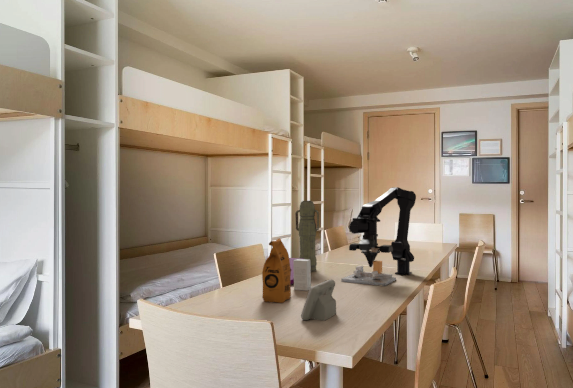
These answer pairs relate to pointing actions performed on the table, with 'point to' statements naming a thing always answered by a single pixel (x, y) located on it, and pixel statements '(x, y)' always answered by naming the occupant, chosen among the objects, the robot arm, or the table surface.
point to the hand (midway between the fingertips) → (370, 267)
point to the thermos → (307, 231)
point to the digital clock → (320, 302)
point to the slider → (377, 268)
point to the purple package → (292, 269)
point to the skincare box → (302, 274)
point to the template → (369, 277)
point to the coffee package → (276, 274)
